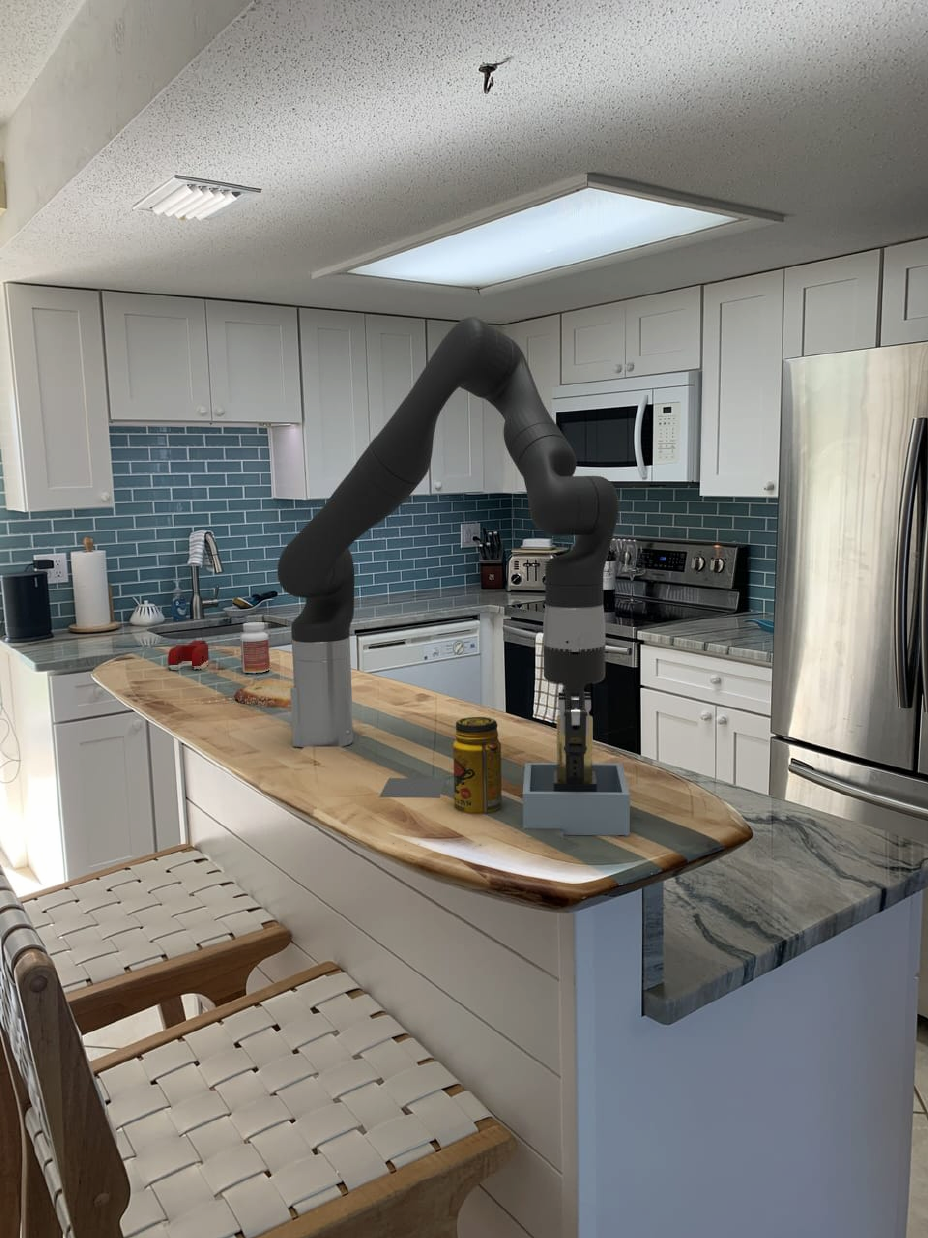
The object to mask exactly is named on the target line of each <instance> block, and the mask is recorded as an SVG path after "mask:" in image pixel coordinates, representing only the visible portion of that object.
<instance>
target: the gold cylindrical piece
mask: <svg viewBox="0 0 928 1238" xmlns="http://www.w3.org/2000/svg"><path fill="white" fill-rule="evenodd" d="M593 717H594V716H592V715H590V714H589V733H588V734H587V735H586V746H587V751H586V754H584V782H583V783H582V784H568V783H567V782H566V754H565V751H564V746H565V736H564V735H563V734H562V733H561V715H560V714H559V715H557V716H556V763H557V771H554V792H597V782H596V776H595V771H592V770H593V764H594V763H593V762H594V761H593V755H594V754H593V750H594V749H593V746H594V744H593V743H594V742H593V741H594V740H593V736H594V734H593V733H594V731H593V730H594V729H593V727H594V724H593V723H594V721H593V720H594V719H593ZM569 743H581V738H577V737H571V738H570V739H569Z"/></svg>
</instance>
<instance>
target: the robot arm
mask: <svg viewBox="0 0 928 1238" xmlns="http://www.w3.org/2000/svg"><path fill="white" fill-rule="evenodd" d="M459 388H461V389H464V390H465V391H466V392H468V393H469V394H471V395H474V396H476V397H478V398H480V399H481V398H482V399H484V400H486V401H487V402H489V403H490V404H491V405H492V406H493V408H495V409H496V410H497V411H498V412H499V413H500V416H501V415H502V416H501V417H503V419H504V424H503V432H502V433H503V439H504V445H505V447H506V450H507V452H508V454H509V456H510V458H511V459H512V462H514V464H515V466H516V468H517V470H518V471H519V473H520V475H521V476H522V478H523V482H524V487H525V490H526V496H527V501H528V509H529V514H530V518H531V521H532V523H533V524H534V526H535V527H536V528H537V529H538V530H539V531H540V532H542V533H544V534H546V535H547V536H552V537H563V536H577V539H576V540H575V544H574V546H573V547H572V550H569V551H568V552H567V553H566V552H565V553H562V554H560V555H556V556H553V557H552V558H551V559H550V558H549V560H548V561H547V563H546V564H545V565H546V566H545V572H544V573H545V576H544V579H545V580H544V583H545V585H544V588H545V591H544V592H545V593H544V595H545V598H544V599H545V602H544V604H545V606H544V607H545V608H544V614H543V627H542V629H543V632H542V635H543V638H542V639H543V677H544V679H545V680H546V681H548V682H550V683H553V684H557V685H558V684H562V685H563V688H562V692H561V691H559V692H558V693H557V703H558V706H557V707H558V711H559V715H561V733H562V734H563V735H564V736H565V746H564V751H565V754H566V782H567V783H568V784H582V783H583V782H584V754H586V751H587V746H586V735H587V734H588V733H589V715H590V711H591V709H592V697H591V692H587V691H586V692H585V687H586V685H588V684H591V685H594V684H597V683H600V682H602V681H603V680H604V679H605V678H606V618H605V617H606V615H605V609H604V581H605V579H604V572H605V568H606V564H607V561H608V557H609V552H610V549H611V545H612V540H613V536H614V533H615V530H616V528H617V523H618V518H619V512H620V503H619V497H618V493H617V490H616V488H615V487H614V485H613V483H612V482H611V481H610V480H609V479H608V478H606V477H604V476H600V475H575V473H576V470H577V463H578V461H577V457H576V454H575V452H574V450H573V448H572V446H571V444H570V443H569V441H568V440H567V439H566V437H565V436H564V435H563V433H562V431H561V430H560V428H559V427H558V425H557V423H555V421H554V419H553V418H552V416H551V414H550V413H549V411H548V410H547V408H546V406H545V404H544V402H543V400H542V398H541V395H540V392H539V391H538V388H537V385H536V383H535V381H534V378H533V375H532V373H531V370H530V367H529V365H528V362H527V359H526V356H525V354H524V353H523V350H522V349H521V347H520V346H519V344H518V343H517V342H516V341H515V340H514V339H512V338H511V337H509V336H507V335H506V334H505V333H503V332H501V331H500V330H498V329H497V328H495V327H494V326H491V324H488V323H487V322H485V321H484V320H481V319H479V318H477V317H473V316H471V317H466V318H463V319H461V320H459V321H458V322H457V323H456V324H454V326H453V327H452V328H451V329H450V330H449V331H448V332H447V333H446V335H445V336H444V338H443V339H441V341H440V343H439V344H438V346H437V348H436V349H435V350H434V353H433V354H432V356H431V357H430V358H429V360H428V362H427V364H426V365H425V367H424V368H423V370H422V372H421V373H420V375H419V377H418V378H417V380H416V381H415V383H414V385H413V386H412V388H411V389H410V390H409V392H408V393H407V395H406V397H404V400H403V401H402V402H401V404H400V405H399V406H398V408H397V409H396V410H395V412H394V413H393V415H392V416H391V417H390V418H389V420H388V421H387V422H386V424H385V425H384V426H383V427H382V429H381V430H380V431H379V432H378V434H377V435H376V436H375V437H374V439H373V440H371V442H370V443H369V445H368V446H367V447H366V449H365V450H364V452H362V454H361V455H360V457H359V458H358V460H357V461H356V463H355V464H354V465H353V467H352V468H351V469H350V471H349V472H348V473H347V474H346V476H345V477H344V479H343V480H342V481H341V483H340V484H339V485H338V486H337V488H336V489H335V490H334V491H333V493H332V494H331V495H330V497H329V498H328V500H327V501H326V502H325V504H324V505H323V507H321V509H320V510H319V511H318V512H317V513H316V514H315V515H314V517H312V519H311V520H310V521H308V523H307V524H306V525H305V526H304V527H303V528H302V529H301V530H300V531H299V533H297V534H296V535H295V536H294V537H293V538H292V539H291V540H290V542H289V543H288V544H287V545H286V547H284V549H283V551H282V552H281V555H280V556H279V560H278V564H277V580H278V581H279V584H280V586H281V588H282V589H283V590H284V591H285V592H286V593H287V594H289V595H291V596H293V597H295V598H302V599H303V598H305V605H304V607H303V608H302V611H300V613H299V614H298V615H297V617H295V618H294V620H292V623H291V625H290V626H291V627H290V630H291V631H290V632H291V633H290V634H291V636H290V637H291V653H292V654H291V655H292V677H293V680H292V681H293V682H294V686H293V687H291V689H290V699H291V708H290V716H291V717H290V719H291V722H290V723H291V736H292V737H291V739H292V740H291V744H292V747H299V748H303V749H304V748H305V747H308V748H309V747H311V748H312V747H313V748H314V747H321V748H322V747H323V748H326V747H328V748H329V747H330V748H332V747H335V748H338V747H340V748H341V747H346V746H348V745H350V744H352V743H353V742H354V726H353V725H354V723H353V696H352V695H353V694H352V693H353V691H352V672H351V671H352V667H351V666H352V665H351V641H350V638H351V637H350V636H351V634H350V628H351V624H352V622H353V619H354V612H355V565H354V560H353V555H352V554H351V551H350V549H349V547H351V546H352V544H353V543H354V542H356V540H357V539H359V538H360V537H361V536H362V535H364V534H365V533H367V532H368V531H369V530H371V529H372V528H374V527H375V526H376V525H378V524H379V523H380V522H382V521H383V520H385V519H386V518H388V517H389V516H390V515H391V514H392V513H394V512H395V511H396V510H398V509H399V508H400V507H401V505H403V503H405V502H406V500H408V498H409V497H410V495H412V494H413V492H414V491H415V489H416V488H417V487H418V486H419V485H420V483H421V482H422V481H423V480H424V479H425V477H426V476H427V474H428V472H429V470H430V467H431V463H432V458H433V451H434V450H433V449H434V441H435V440H434V439H435V430H436V425H437V421H438V417H439V416H440V413H441V411H442V410H443V408H444V406H446V403H447V402H448V400H449V399H450V398H451V396H452V395H453V394H454V392H456V390H457V389H459ZM571 737H577V738H581V743H569V739H570V738H571Z"/></svg>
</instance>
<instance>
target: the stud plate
mask: <svg viewBox="0 0 928 1238" xmlns="http://www.w3.org/2000/svg"><path fill="white" fill-rule="evenodd" d="M446 780H447V778H423V777H422V778H421V777H420V778H417V777H416V778H414V777H413V778H411V777H410V778H407V777H406V778H405V777H396V778H395V777H392V778H391V777H388V779H387V781H386V783H385V785H384V786H383V789H382V790H381V792H380V794H379V796H378V798H424V799H425V798H430V799H431V798H435V799H436V798H437V799H438V798H441V795H442V791H443V788H444V786H445V783H446Z"/></svg>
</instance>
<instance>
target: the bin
mask: <svg viewBox="0 0 928 1238" xmlns="http://www.w3.org/2000/svg"><path fill="white" fill-rule="evenodd" d="M554 771H557V762H555V763H554V762H525V763H524V773H523V784H522V785H523V786H522V829H550V830H551V829H560V830H561V829H562V830H563V836H564V835H565V836H568V835H569V836H618V835H625V837H626V836H628V837H629V836H630V833H631V831H630V830H631V825H630V823H631V794H630V789H629V786H628V780H627V778H626V774H625V770H624V765H623V764H622V763H593V770H592V771H595V776H596V782H597V792H554Z"/></svg>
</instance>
